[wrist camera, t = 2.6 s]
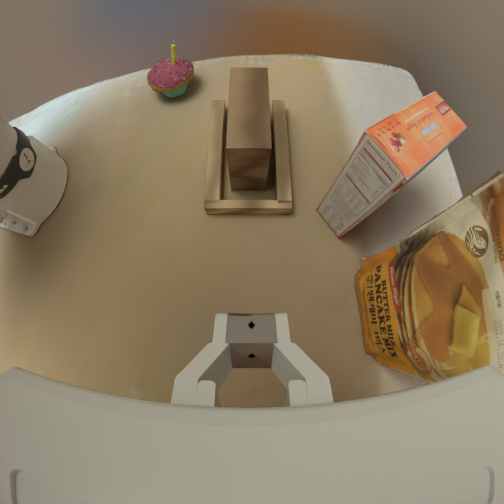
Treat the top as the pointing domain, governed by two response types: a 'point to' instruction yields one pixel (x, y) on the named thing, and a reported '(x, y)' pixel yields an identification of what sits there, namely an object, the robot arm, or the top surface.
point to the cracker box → (389, 160)
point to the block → (248, 129)
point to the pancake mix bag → (440, 291)
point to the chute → (280, 167)
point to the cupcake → (171, 75)
